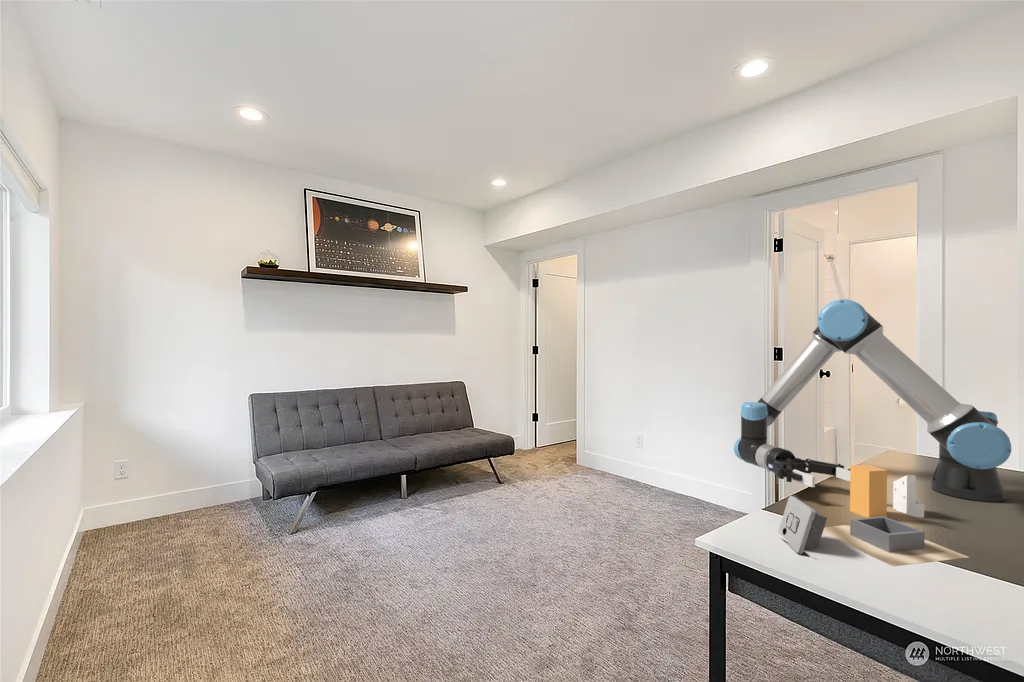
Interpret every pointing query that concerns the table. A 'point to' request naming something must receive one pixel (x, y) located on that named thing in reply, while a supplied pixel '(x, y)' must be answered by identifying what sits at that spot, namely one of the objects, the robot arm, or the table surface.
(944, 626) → the table surface
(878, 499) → the connector plug
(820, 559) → the table surface
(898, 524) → the socket cup
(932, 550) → the mounting board
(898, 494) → the white wedge bracket
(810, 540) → the electrical switch
